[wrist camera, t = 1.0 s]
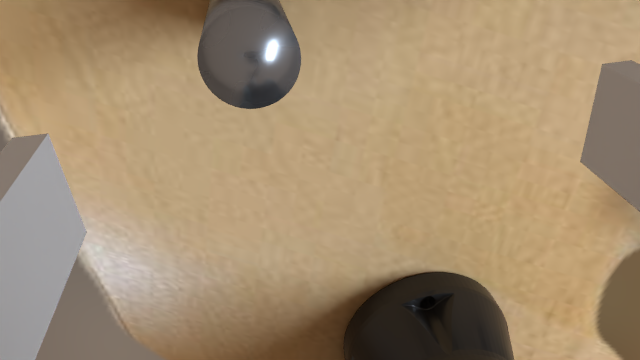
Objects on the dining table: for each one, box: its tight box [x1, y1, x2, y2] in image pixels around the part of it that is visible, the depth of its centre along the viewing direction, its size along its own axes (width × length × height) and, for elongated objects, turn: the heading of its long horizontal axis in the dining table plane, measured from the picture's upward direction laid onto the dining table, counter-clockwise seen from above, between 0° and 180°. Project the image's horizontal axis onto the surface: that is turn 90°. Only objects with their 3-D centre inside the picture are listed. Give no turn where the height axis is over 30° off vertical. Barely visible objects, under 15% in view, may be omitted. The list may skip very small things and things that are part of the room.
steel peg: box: [198, 0, 301, 109], centre depth 26 cm, size 4×4×14 cm
